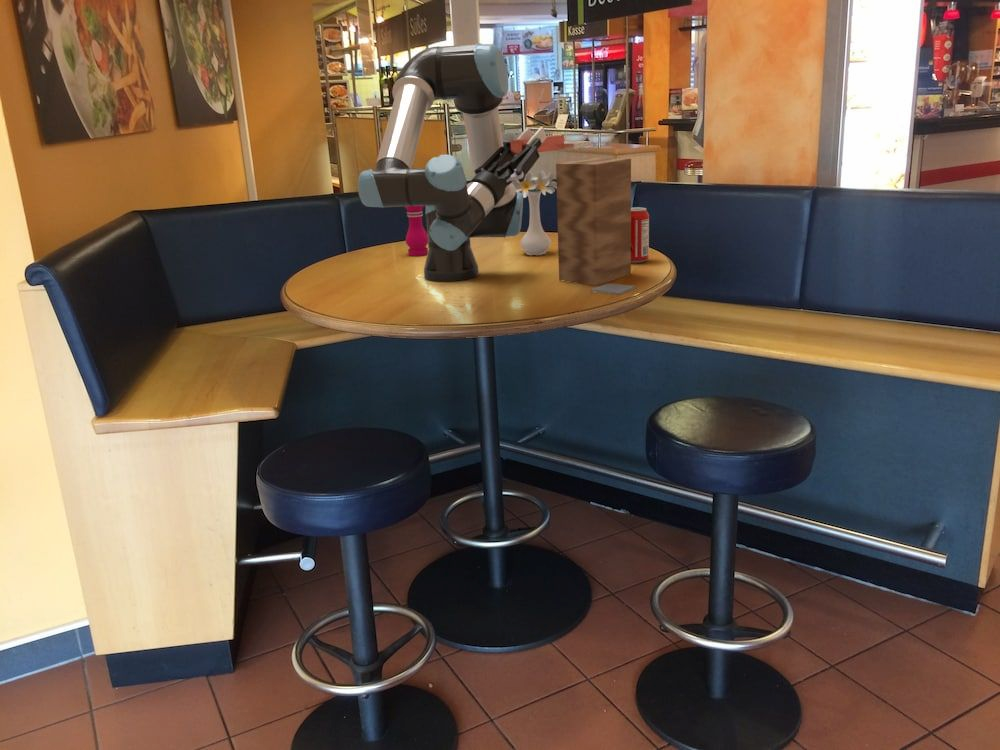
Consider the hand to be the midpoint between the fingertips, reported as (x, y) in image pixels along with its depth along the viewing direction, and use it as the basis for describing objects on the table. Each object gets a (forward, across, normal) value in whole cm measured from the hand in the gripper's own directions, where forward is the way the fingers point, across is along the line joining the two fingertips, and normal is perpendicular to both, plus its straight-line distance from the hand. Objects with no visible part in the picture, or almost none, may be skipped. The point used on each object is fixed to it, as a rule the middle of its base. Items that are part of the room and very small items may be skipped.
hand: (536, 132), depth 191 cm
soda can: (+20, -2, -56) cm, 60 cm away
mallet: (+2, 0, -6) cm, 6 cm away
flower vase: (+18, -35, -55) cm, 68 cm away
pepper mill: (+3, -69, -46) cm, 83 cm away
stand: (+1, 0, -45) cm, 45 cm away
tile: (-8, +11, -41) cm, 43 cm away
